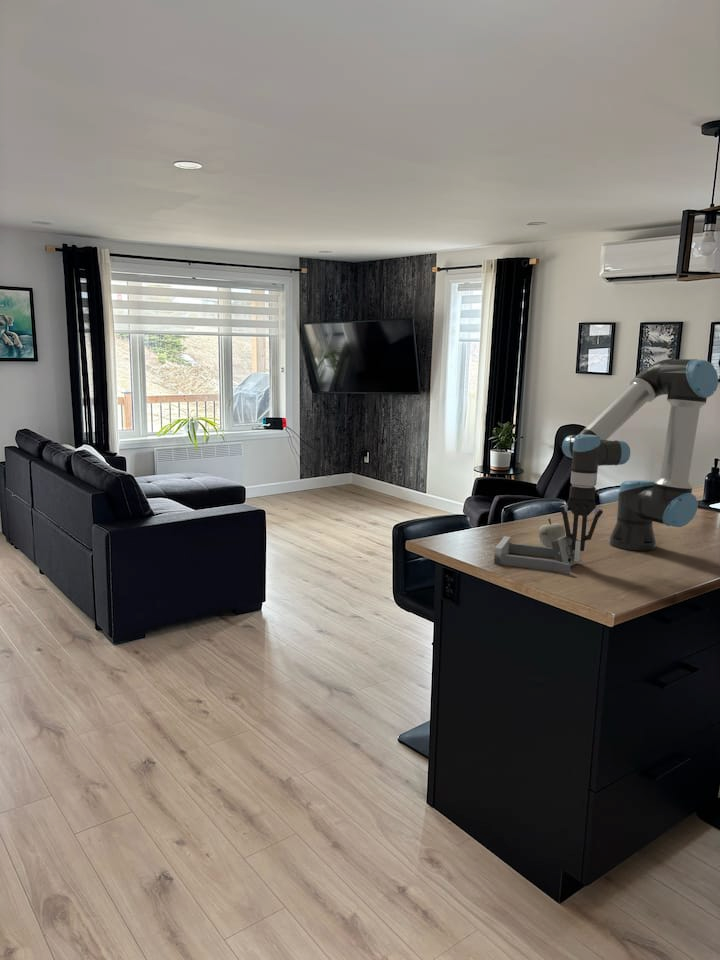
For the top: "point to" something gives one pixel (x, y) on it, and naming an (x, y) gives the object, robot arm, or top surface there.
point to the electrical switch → (564, 550)
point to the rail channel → (528, 562)
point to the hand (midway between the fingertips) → (576, 560)
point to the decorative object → (550, 533)
